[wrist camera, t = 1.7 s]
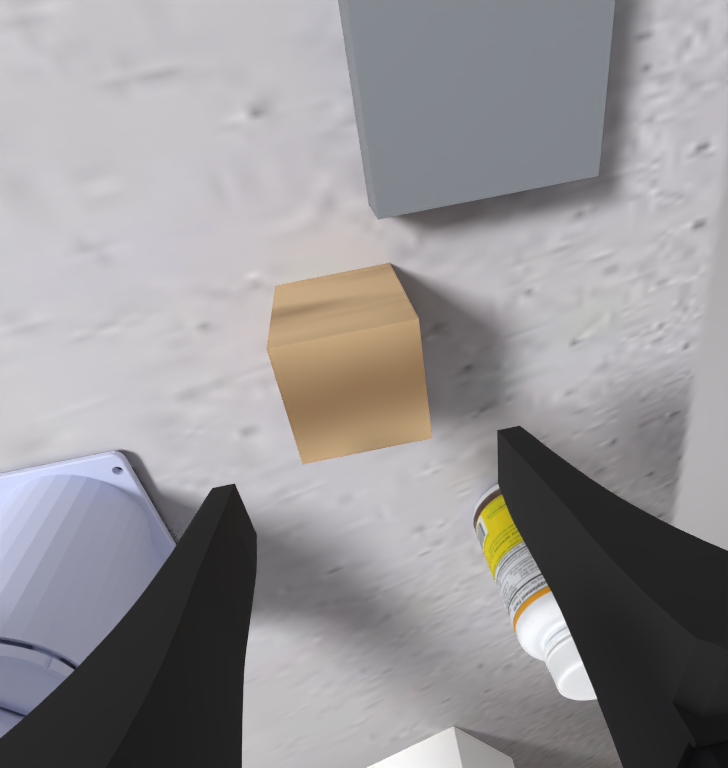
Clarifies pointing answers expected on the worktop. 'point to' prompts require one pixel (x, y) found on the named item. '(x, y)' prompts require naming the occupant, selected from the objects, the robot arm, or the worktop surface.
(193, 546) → the robot arm
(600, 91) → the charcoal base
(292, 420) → the oak block
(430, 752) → the milk
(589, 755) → the worktop surface
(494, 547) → the supplement bottle
